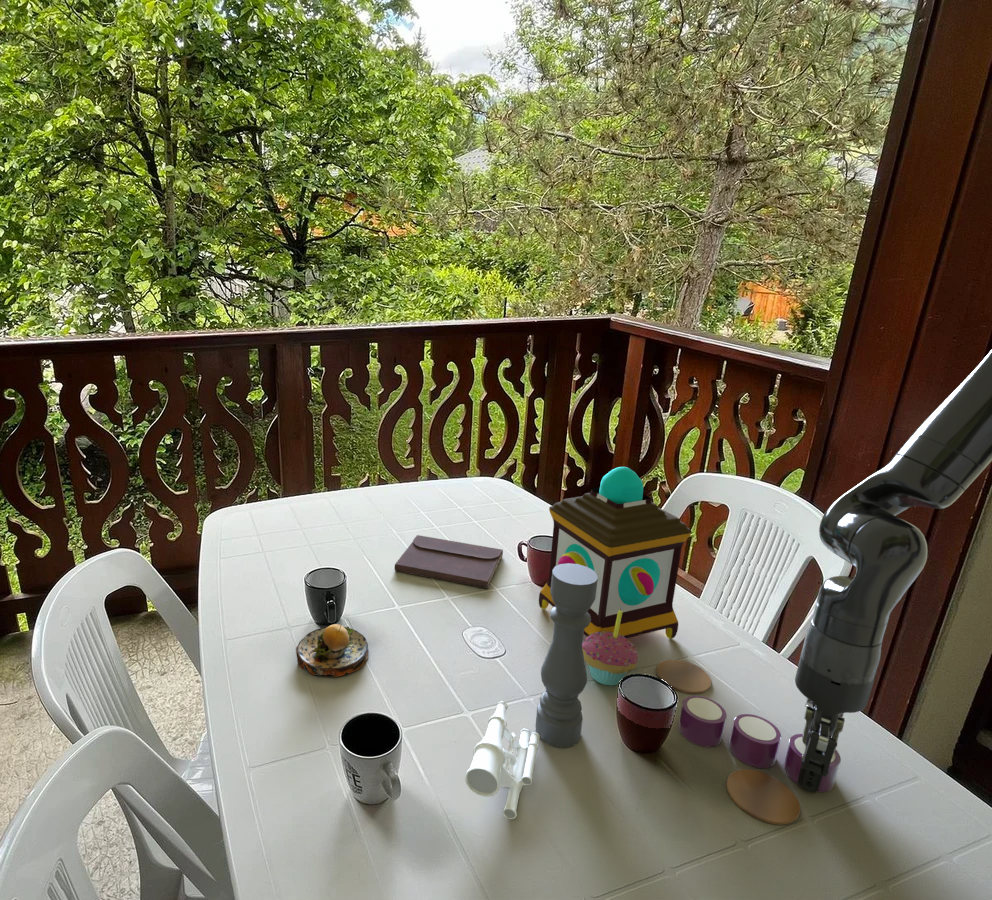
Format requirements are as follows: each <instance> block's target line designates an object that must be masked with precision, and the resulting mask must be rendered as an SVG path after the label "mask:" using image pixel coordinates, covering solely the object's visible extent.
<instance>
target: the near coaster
mask: <svg viewBox="0 0 992 900" xmlns="http://www.w3.org/2000/svg"><path fill="white" fill-rule="evenodd" d="M726 791H727V793H728V795H729V797H730V799H731V800H732V801H733V803H735V804H736V806H737V807H738V808H739V809H741V810H742V811H743V812H745V813H746V814H747V815H749V816H751V817H753V818H755V819H757V820H758V821H761V822H764V823H767V824H772V825H779V826H781V825H782V826H783V825H789V824H792V823H794V822H796V821H797V820H798V819H799V817H800V813H801V805H800V802H799V799H798V798H797V796H796V795H795V793H794V792H793V791H792V790H791V789H790V788H789V787H788V786H787V785H786V784H785V783H783V781H781V780H780V779H778V778H776V777H774V776H772V775H770V774H767V773H765V772H763V771H759V770H754V769H748V768H747V769H745V768H744V769H738V770H735V771H733V772H731V773H730V774H729V775H728V776H727V779H726Z"/></svg>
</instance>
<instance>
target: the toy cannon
mask: <svg viewBox="0 0 992 900" xmlns="http://www.w3.org/2000/svg"><path fill="white" fill-rule="evenodd" d="M508 707H509V706H508V703H507V702H505V701H502V700H501V701H499V702H498V703H497V705H496V709H495V712H494V714H492V716H490V717H489V719H488V726H487V729H486V732H485V734H484V737H483V738H482V740H481V741H480V742H478V743H477V744H475V746H474V748H473V759H472V761H471V764H470V766H469V768H468V770H467V771H466V773H465V775H464V781H465V785H466V786H467V788H468V789H469V790H470V791H471V792H472V793H474V794H476V795H478V796H481V797H485V798H486V797H493V796H495V795H496V794H497V793H498V792H499V790H500V787H502V788H508V792H507V797H506V801H505V806H504V807H503V810H502V814H503V817H505V818H506V819H508V820H515V819H516V818H517V816H518V814H517V808H518V802H519V797H520V793H521V791H522V790H523V786H531V785H532V784H533V775H534V768H535V762H536V756H537V751H538V750H539V741H540V740H541V739H540V735H539V734H538V733H536V731H531V730H530V729H529V728H522V729H521V730H520V738H519V741H518V740H517V733H516V732H510V731H509V729H508V728H507V727H508V723H507V721H506V713H507V710H508ZM504 738H505V740H507V742H508V748H507V749H508V750H505V748H503V739H504ZM514 749H515V753H516V754H513V751H514ZM515 755H516V756H515ZM510 767H513V769H512V773H510V771H509V770H510Z"/></svg>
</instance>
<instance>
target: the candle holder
mask: <svg viewBox="0 0 992 900" xmlns="http://www.w3.org/2000/svg"><path fill="white" fill-rule="evenodd" d="M597 581H598V576H597V573H596V572H594V571H593V570H592V569H590V568H588V567H586V566H583V565H579V564H572V563H566V564H560V565H557V566H555V567H554V569H553V570H552V580H551V590H550V592H551V596H552V600H553V602H554V604H555V607H553V606H552V608H551V609H550V610H549V614H550V620H551V621H552V622H553V633H552V640H551V642H550V645H549V648H548V650H547V653H546V656H545V658H544V660H543V663H542V666H541V668H540V677H541V682H542V684H543V686H544V688H545V691H543V693H542V694H541V695H540V697H539V703H538V704H537V707H536V714H535V715H536V716H535V725H534V726H535V732H536V733H538V734H539V735H540V739H539V740H542V741H543V742H544V743H545V744H546V745H549V746H551V747H553V748H559V749H560V748H561V749H566V748H567V749H568V748H572V747H574V746H575V745H577V744H578V743H579V742H580V739H581V734H582V726H583V719H584V717H583V713H582V710H583V707H582V703H581V701H580V699H579V698H578V697H579V695H581V694H582V693H583V691H584V689H585V688H586V685H587V683H588V675H587V668H586V661H585V660H584V654H583V647H582V645H583V640H584V636H585V635H584V629H585V627H587V626H588V625H589V623H590V622H591V617H590V614H589V613H588V612H587V611H588V609H590V608H591V606H592V604H593V602H594V601H595V598H596V590H597Z"/></svg>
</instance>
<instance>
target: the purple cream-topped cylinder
mask: <svg viewBox="0 0 992 900" xmlns="http://www.w3.org/2000/svg"><path fill="white" fill-rule="evenodd" d="M727 716H728V715H727V710H725V708H724V707H723V706H722V705H721V704H720V702H719V703H718V702H717V701H715V700H714V699H712V698H710V697H706V696H703V695H688V696H686V697H685V698H684V699H683V700H682V703H681V707H680V714H679V720H678V725H677V726H678V730H679V733H680V734H681V735H682V736H683V737H684V738H685V739H686V740H688V741H690V743H692V744H695V745H697V746H699V747H700V746H701V747H704V748H705V747H706V748H713V747H716V746H719V745H720V744H721V743H722V741H723V736H724V731H725V727H726V722H727Z"/></svg>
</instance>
